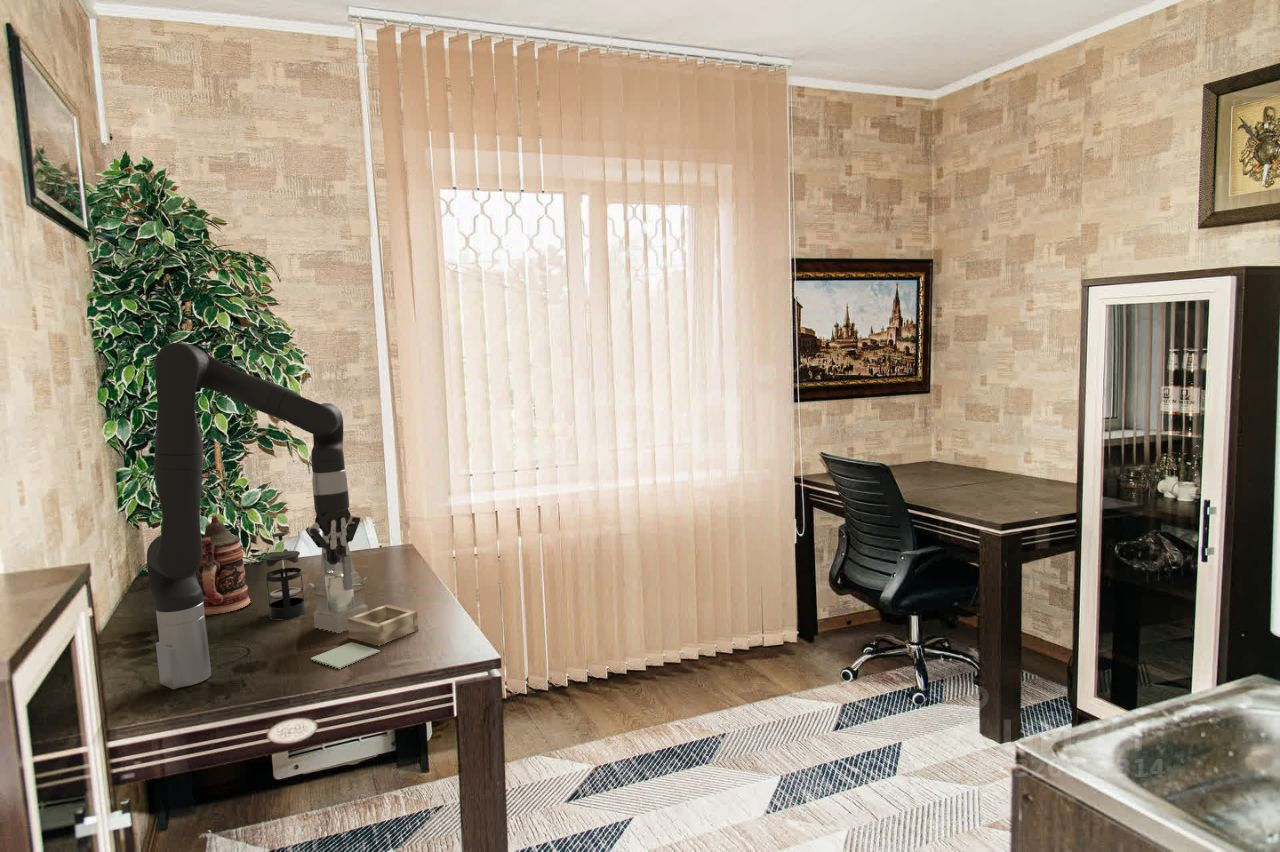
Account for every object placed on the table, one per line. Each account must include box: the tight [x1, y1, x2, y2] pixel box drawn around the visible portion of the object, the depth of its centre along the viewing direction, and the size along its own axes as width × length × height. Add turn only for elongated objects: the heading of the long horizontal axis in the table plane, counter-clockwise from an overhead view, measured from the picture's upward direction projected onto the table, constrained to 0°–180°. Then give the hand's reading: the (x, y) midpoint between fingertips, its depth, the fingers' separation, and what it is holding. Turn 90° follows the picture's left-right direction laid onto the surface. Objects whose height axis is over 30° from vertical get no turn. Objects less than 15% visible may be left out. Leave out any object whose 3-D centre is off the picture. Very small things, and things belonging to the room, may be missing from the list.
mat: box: [310, 641, 381, 670], centre depth 187 cm, size 11×11×1 cm
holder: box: [347, 603, 419, 647], centre depth 201 cm, size 12×12×5 cm
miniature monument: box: [308, 534, 370, 634], centre depth 207 cm, size 10×10×30 cm
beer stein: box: [196, 514, 251, 614], centre depth 226 cm, size 17×28×18 cm
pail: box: [323, 552, 355, 612], centre depth 185 cm, size 6×8×13 cm
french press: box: [263, 531, 307, 620], centre depth 219 cm, size 12×9×23 cm
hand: (337, 562), depth 185 cm, fingers closed on pail, 1 cm apart
